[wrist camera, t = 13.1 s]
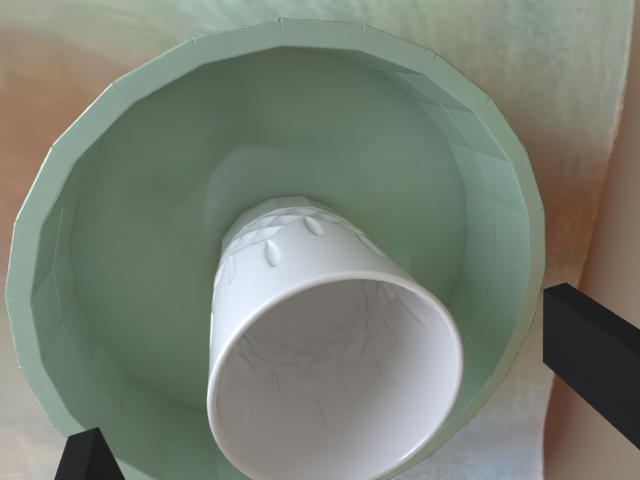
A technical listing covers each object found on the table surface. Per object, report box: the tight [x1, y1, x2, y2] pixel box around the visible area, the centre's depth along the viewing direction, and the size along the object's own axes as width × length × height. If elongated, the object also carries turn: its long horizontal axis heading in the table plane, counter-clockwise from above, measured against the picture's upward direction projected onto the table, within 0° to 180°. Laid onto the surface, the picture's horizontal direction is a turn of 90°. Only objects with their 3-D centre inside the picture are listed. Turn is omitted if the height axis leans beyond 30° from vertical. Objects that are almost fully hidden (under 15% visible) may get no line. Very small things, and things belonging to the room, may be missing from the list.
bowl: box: [5, 18, 546, 480], centre depth 21 cm, size 21×21×6 cm
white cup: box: [207, 196, 464, 480], centre depth 19 cm, size 8×8×10 cm
